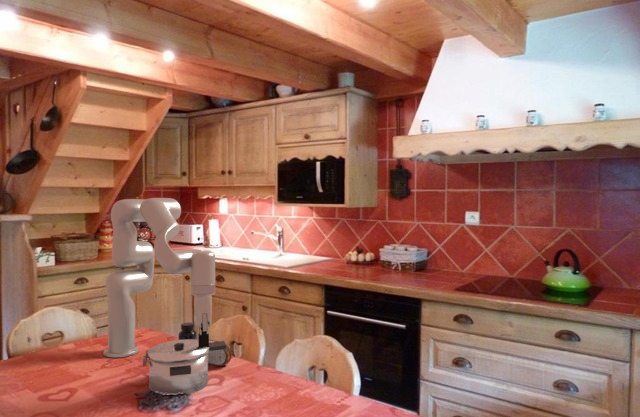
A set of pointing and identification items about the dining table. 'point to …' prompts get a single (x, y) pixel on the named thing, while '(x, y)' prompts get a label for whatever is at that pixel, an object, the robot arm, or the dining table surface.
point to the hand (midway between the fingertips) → (203, 346)
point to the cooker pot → (178, 375)
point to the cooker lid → (181, 350)
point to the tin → (219, 356)
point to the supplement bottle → (187, 331)
